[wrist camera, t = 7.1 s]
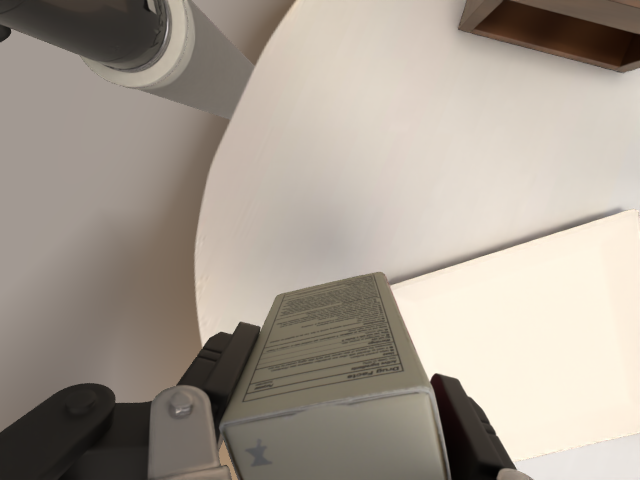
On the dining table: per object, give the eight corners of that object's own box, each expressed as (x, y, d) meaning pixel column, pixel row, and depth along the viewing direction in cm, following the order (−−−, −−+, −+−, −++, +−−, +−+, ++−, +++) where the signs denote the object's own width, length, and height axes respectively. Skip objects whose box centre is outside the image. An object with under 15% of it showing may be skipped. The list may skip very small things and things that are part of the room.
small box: (299, 373, 16) (264, 567, 9) (274, 291, 15) (210, 428, 8) (404, 353, 16) (466, 542, 8) (385, 267, 15) (435, 388, 7)
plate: (622, 204, 35) (639, 207, 33) (659, 413, 40) (676, 426, 38) (375, 283, 38) (377, 290, 36) (440, 465, 43) (444, 480, 41)
